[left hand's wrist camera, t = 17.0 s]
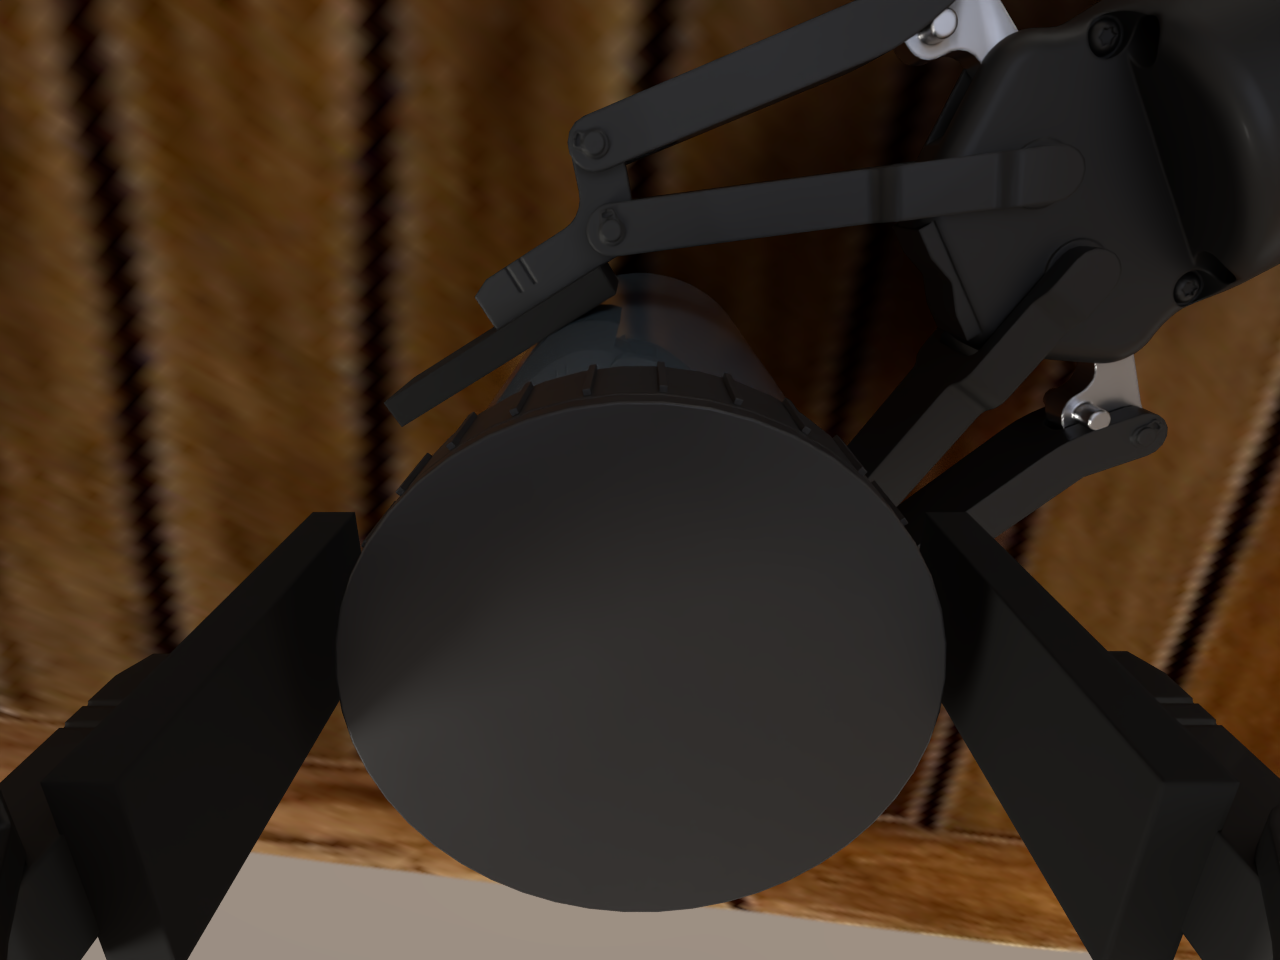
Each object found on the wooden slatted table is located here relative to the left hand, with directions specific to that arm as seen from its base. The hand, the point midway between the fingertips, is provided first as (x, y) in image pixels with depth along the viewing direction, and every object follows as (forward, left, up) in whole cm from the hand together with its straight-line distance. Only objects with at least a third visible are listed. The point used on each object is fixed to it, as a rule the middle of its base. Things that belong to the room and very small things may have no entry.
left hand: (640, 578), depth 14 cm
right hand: (+3, -4, -8) cm, 9 cm away
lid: (0, 0, +3) cm, 3 cm away
